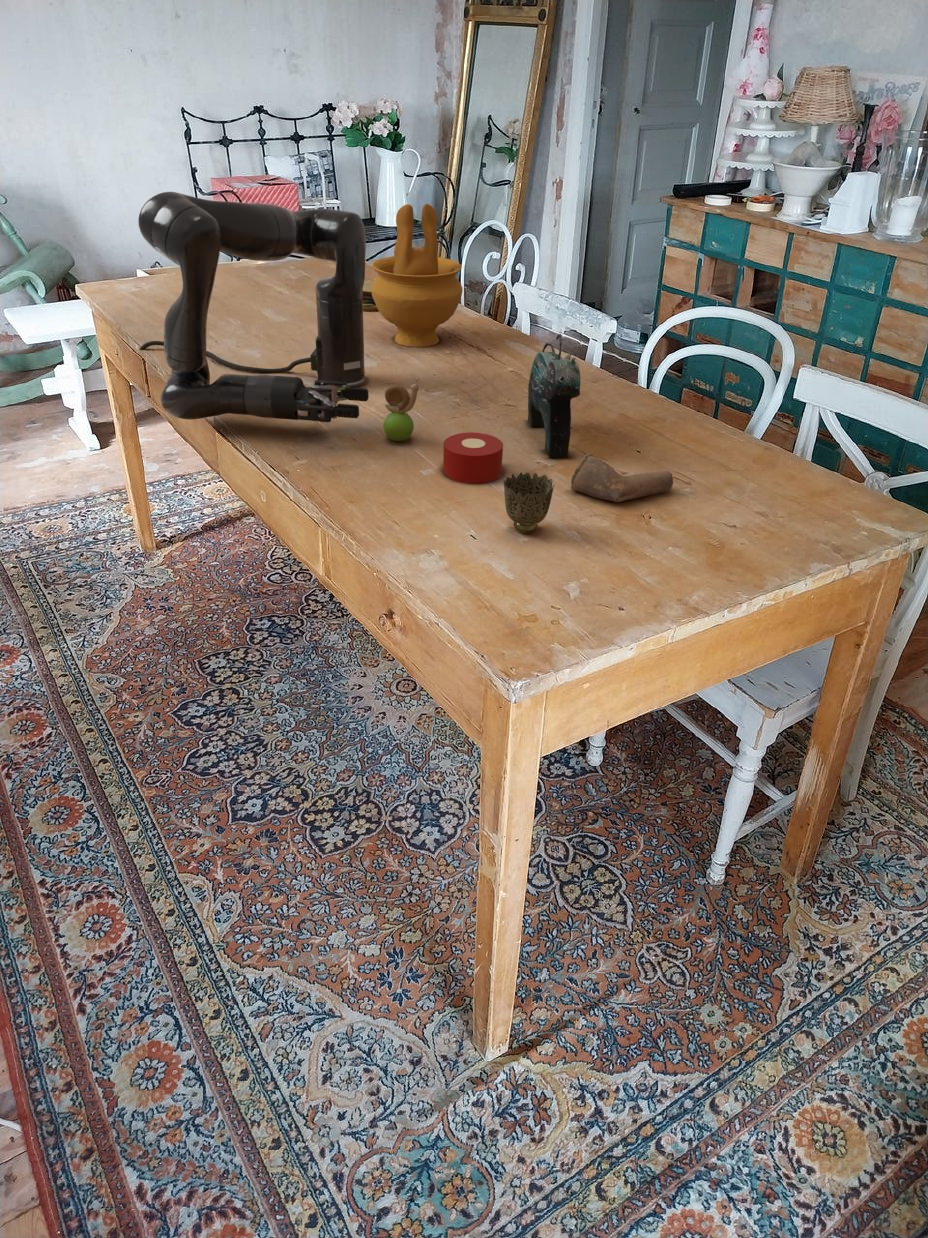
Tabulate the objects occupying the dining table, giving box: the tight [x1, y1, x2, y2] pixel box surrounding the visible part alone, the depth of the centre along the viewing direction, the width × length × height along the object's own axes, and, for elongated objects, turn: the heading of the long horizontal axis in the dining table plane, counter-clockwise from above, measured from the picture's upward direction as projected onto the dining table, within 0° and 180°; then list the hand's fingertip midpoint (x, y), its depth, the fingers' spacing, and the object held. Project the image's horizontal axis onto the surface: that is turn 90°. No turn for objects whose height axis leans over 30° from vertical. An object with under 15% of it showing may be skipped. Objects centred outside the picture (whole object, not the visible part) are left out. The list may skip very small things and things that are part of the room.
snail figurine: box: [383, 376, 420, 442], centre depth 166 cm, size 5×6×12 cm
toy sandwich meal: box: [363, 279, 379, 312], centre depth 244 cm, size 12×14×5 cm
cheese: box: [442, 431, 504, 484], centre depth 158 cm, size 10×10×5 cm
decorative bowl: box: [371, 203, 463, 348], centre depth 213 cm, size 21×21×30 cm
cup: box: [503, 471, 555, 535], centre depth 140 cm, size 8×7×8 cm
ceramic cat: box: [527, 333, 581, 459], centre depth 167 cm, size 20×6×20 cm, turn 9°
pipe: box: [570, 453, 674, 503], centre depth 153 cm, size 6×17×10 cm
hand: (363, 403), depth 167 cm, fingers open, 8 cm apart
